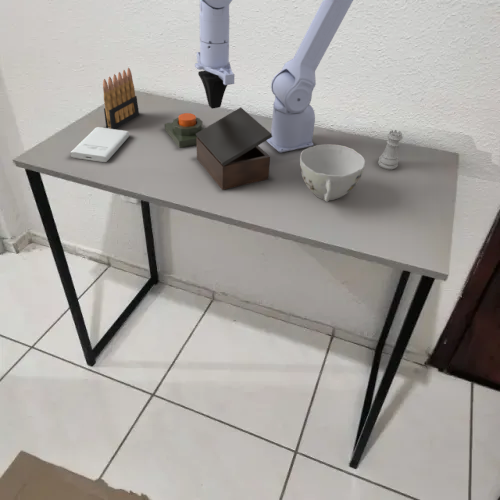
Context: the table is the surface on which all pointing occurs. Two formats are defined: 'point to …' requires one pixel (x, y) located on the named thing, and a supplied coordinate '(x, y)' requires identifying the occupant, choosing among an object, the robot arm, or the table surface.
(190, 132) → the control block
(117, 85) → the ammunition clip
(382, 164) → the rook chess piece
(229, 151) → the lid
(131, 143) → the table surface
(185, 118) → the button
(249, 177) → the wooden lidded box
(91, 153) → the hard drive
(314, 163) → the teacup
